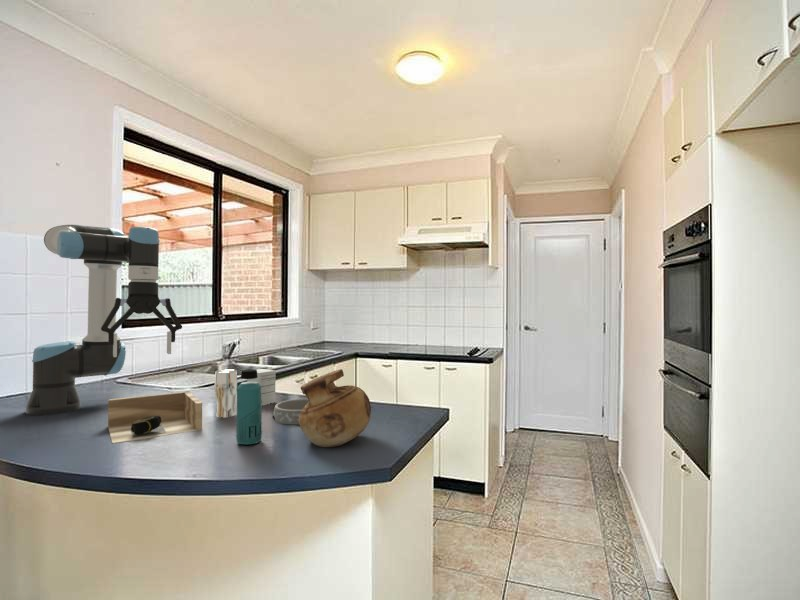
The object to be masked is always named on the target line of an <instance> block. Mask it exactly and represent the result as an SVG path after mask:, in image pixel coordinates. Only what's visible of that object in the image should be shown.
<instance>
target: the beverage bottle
mask: <svg viewBox="0 0 800 600" xmlns="http://www.w3.org/2000/svg"><path fill="white" fill-rule="evenodd" d="M255 378H257V369H253V368H250V369H249V368H248V369H242V370H241V371H240V379H241V380H247V379H255ZM261 388H262V386H261V385H260V384H259V383H258V382H247V381H243V382H241V383H240V384H238V385H237V392H236V421H235V423H236V428H235V429H236V434H235V437H236V442H237V444H240V445H253V444H254V445H255V444H257V443H260V442H261V441H262V435H263V431H262V429H263V426H262V417H263V415H262V411H263V410H262V409H263V407H262V406H261V402H262V401H261Z"/></svg>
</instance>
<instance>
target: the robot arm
mask: <svg viewBox="0 0 800 600" xmlns="http://www.w3.org/2000/svg"><path fill="white" fill-rule="evenodd" d="M159 235H160V234H159V230H158V229H156V228H154V227H153V228H152V227H149V226H148V227H147V226H132V227H130V228H129V230H128V236H126V235H125V233H124V232H123V231H122V230H120V229H117V228H112V227H111V228H110V227H101V226H92V225H91V226H90V225H79V224H64V225H63V224H62V225H61V224H60V225H57V226H54V227H51V228H49V229H48V230H47V231H46V232H45V233H44V237H43V244H44V246H45V247H46V249H47V250H48V251H50V252H51V253H52V254H54V255H57V256H59V257H60V258H63V259H70V260H83V265H84V266H86V267H87V268H88V293H87V294H88V297H87V299H88V300H87V302H88V303H87V335H85V336H84V337H83V338H82V341H81V342H82V343H81V344H76V343H77V342H76V341H74V340H73V341H72V340H70V341H69V340H68V341H58V342H53V343H47V344H42V345H39V346H37V347H35V348H34V349H33V354H32V360H31V362H32V390H31V393H30V395H29V398H28V401H27V403H26V406H25V414H26V415H28V414H29V416H49V415H57V414H58V415H59V414H64V413H69V412H72V411H76V410H79V409H81V407H82V404H81V403H82V402H81V401H82V400H81V398H80V396H79V393H78V391H77V388H76V378H77V379H78V378H87V377H88V378H89V377H97V376H98V377H99V376H108V375H114V374H115V375H116V374H119V372H121V371H122V370H123V368H124V365H125V360H126V355H127V354H126V353H127V351H126V344H125V343H124V342H122V341H121V338H120V337H119V336H118V333H117V332H116V331H117V330H118V329H119V328H120V327H121V326H122V325H123V324H124V323H125V322H126V321H127V319H128V318H129V317H131V316H132V315H133V314H136V315H138V314H139V315H140V314H147V315H149V314H154V315H155V316H156V317H157V318H158V319H159V321H161V322H162V323H163V324H164V326H166V328H167V329H169V331H168V330H167V331H166V354H167V355H172V343H175V342H176V332H177V331H179V330H182V329H183V326H182V324H181V321H180V320H179V318H178V316H177V314H176V313H175V310H174V309H173V307H172V303H171V299H170V298H168V297H166V298H161V299H160V298H159V283H158V282H157V281H158V280H159V258H160V257H159V256H160V253H159V251H160V250H159V248H160V236H159ZM124 262H125V263H128V273H127V274H128V277H127V278H128V280H130V281H129V282H128V284H127V285H128V286H127V288H128V289H127V291H128V292H127V293H128V294H127V298H120V297H117V282H118V281H117V280H118V279H117V278H118V275H117V274H118V270H119V269H120V268H121V267H122V266H123V263H124ZM125 303H126V304H127V306H128V307H129V308H128V309H127V310H126V312H125V313H124V314H123V315H122V316H121V317H120V318H119V319H117V313H118V310H119V309H120V308H121V307H122V306H124V304H125ZM160 304H161V305H162V306H163V307H164V308H165V309H166V311H167V313H168V314H169V316H170V318H171V320H172V322H173V324H174V325H173V324H172V323H171V321H169V319H167V318H166V317H165V315H163V314H162V313H161V311H160V310H159V309H158V308H157V307H159V305H160Z"/></svg>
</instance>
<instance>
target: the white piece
mask: <svg viewBox="0 0 800 600" xmlns="http://www.w3.org/2000/svg"><path fill="white" fill-rule="evenodd" d="M237 372H238V370H237V369H219V370H216V371H214V373H215V374H214V392H215V393H214V394H215V400H216V405H217V406H216V408H217V409H216V413H215V417H216V418H221V417H223V418H230V417H234V416H237V412H236V408H235V406H236V405H235V404H236V403H235V402H236V399H237V387H238V373H237Z"/></svg>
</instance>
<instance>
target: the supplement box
mask: <svg viewBox="0 0 800 600" xmlns="http://www.w3.org/2000/svg"><path fill="white" fill-rule="evenodd" d="M256 370H257V378H255V379H246V382H258V383H259V384H260V385H261V386H262V388H261V401H262V402H261V407H263V406H267V404H268V405H271V404H270V403H272V404H275V403H276V373H277V372H276V370H273V369H267V368H266V369H265V368H259V369H256ZM274 402H275V403H274ZM262 405H263V406H262Z"/></svg>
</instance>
